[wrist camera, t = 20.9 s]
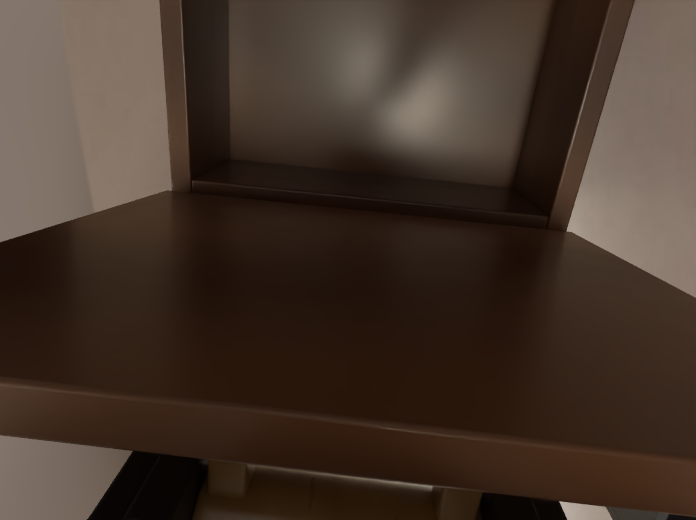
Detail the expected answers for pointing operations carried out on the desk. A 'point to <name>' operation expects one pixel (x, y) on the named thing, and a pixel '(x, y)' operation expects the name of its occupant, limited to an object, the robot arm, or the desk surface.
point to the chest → (391, 102)
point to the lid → (352, 358)
